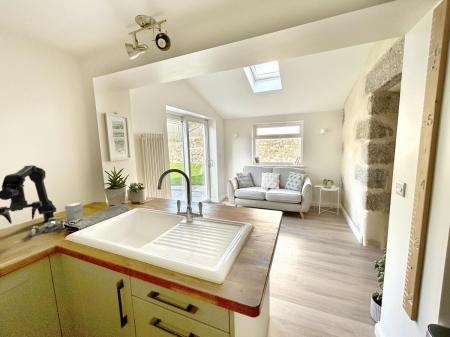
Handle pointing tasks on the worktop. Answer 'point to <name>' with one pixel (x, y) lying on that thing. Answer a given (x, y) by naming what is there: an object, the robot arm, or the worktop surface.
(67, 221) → the knob
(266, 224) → the worktop surface
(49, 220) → the knob
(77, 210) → the supplement box
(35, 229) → the knob
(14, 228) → the worktop surface
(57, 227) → the tribrach
